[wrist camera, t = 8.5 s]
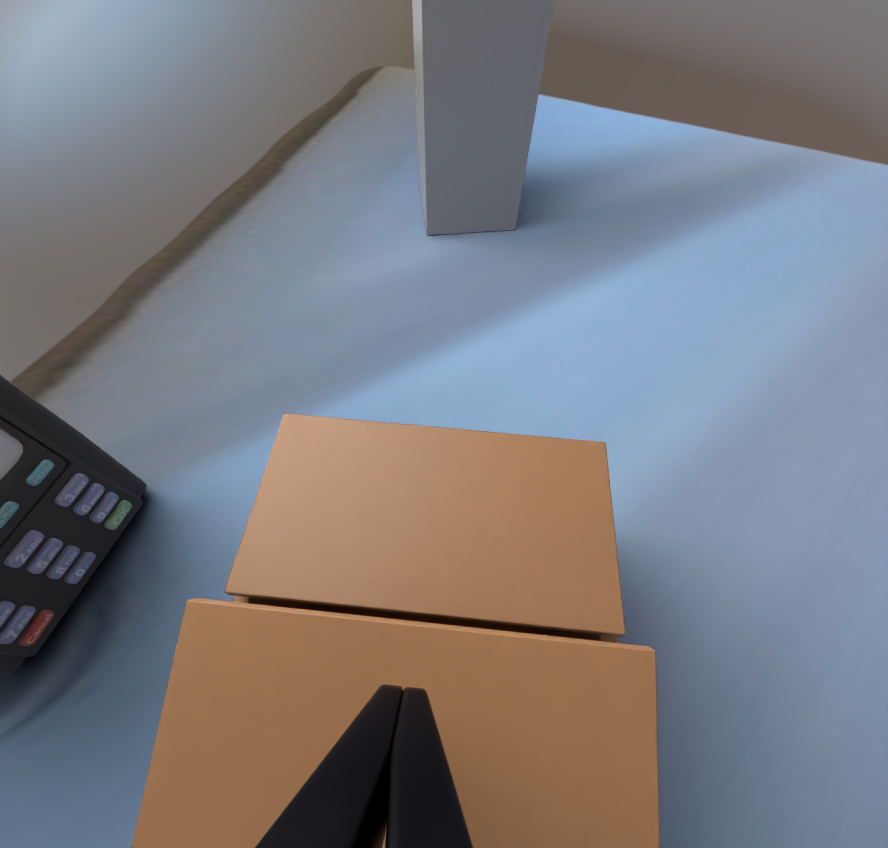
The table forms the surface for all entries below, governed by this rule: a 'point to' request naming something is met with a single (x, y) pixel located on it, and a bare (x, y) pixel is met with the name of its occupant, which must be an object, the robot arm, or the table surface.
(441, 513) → the carton
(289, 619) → the lid flap
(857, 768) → the table surface
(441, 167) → the perfume bottle
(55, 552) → the card reader
